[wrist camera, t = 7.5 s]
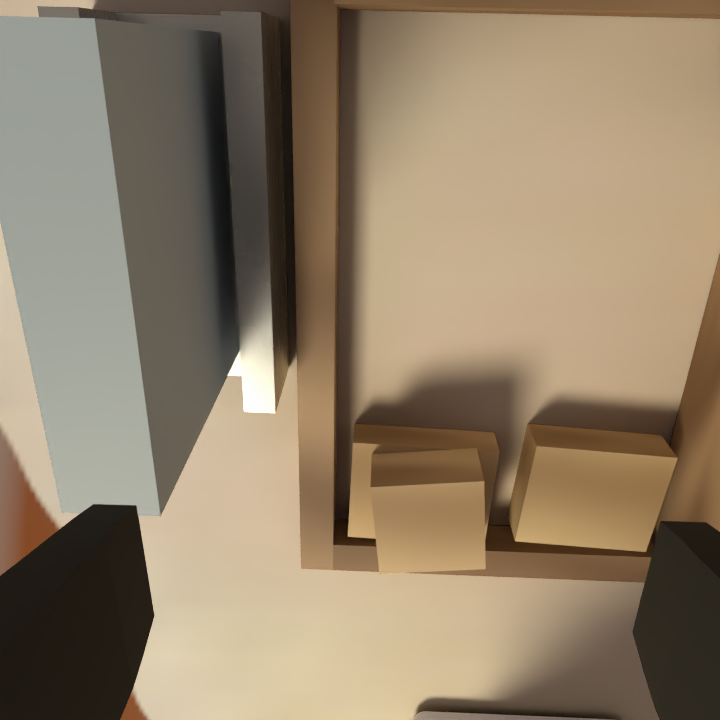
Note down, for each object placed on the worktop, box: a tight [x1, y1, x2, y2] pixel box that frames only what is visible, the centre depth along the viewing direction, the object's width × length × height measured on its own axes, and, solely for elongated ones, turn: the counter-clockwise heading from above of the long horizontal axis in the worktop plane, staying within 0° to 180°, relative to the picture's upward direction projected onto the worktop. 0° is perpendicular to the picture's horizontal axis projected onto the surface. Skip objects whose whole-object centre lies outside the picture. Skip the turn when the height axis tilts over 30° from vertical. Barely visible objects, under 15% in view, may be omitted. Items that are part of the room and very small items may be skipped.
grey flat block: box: [0, 16, 238, 516], centre depth 13 cm, size 2×8×7 cm, turn 179°
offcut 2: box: [370, 448, 486, 574], centre depth 19 cm, size 3×3×2 cm
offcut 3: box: [508, 424, 678, 552], centre depth 20 cm, size 3×4×2 cm
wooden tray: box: [290, 0, 720, 582], centre depth 16 cm, size 17×12×4 cm
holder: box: [38, 6, 289, 413], centre depth 16 cm, size 9×4×3 cm, turn 179°
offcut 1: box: [348, 424, 500, 539], centre depth 20 cm, size 3×4×2 cm
